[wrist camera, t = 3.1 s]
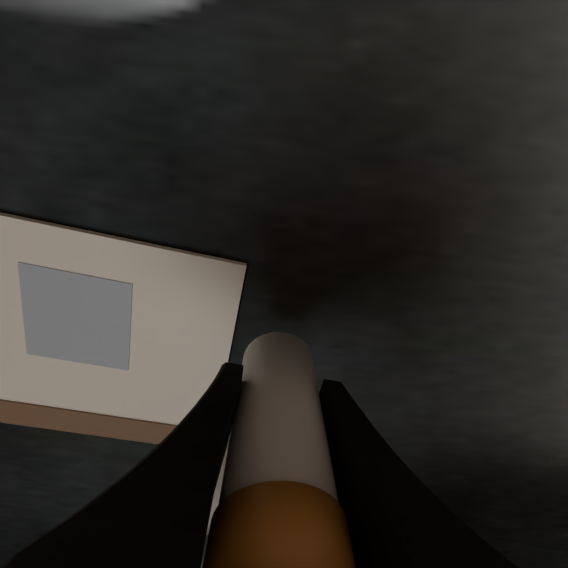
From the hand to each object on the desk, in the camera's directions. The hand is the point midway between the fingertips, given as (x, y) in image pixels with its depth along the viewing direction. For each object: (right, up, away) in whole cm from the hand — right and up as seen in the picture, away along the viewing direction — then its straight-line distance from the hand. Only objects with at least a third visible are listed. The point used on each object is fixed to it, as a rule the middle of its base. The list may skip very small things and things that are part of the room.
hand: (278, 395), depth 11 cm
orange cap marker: (0, +1, +2) cm, 2 cm away
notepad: (-9, +1, +5) cm, 11 cm away
